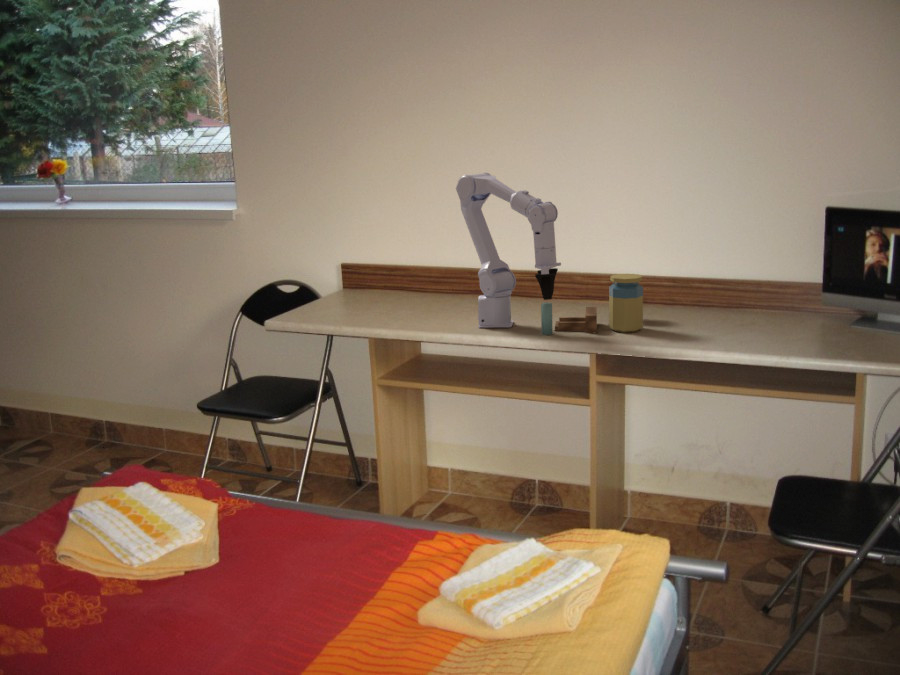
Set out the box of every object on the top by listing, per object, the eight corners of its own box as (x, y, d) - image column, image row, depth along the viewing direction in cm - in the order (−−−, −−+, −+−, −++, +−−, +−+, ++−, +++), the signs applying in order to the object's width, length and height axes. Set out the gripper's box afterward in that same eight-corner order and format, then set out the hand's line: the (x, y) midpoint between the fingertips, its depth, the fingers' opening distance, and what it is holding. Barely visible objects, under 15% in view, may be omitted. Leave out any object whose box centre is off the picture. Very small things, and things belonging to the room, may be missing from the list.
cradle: (554, 332, 258) (554, 316, 257) (556, 323, 269) (556, 307, 268) (596, 332, 256) (596, 315, 255) (596, 323, 268) (596, 306, 266)
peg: (541, 335, 256) (540, 304, 254) (541, 332, 259) (541, 302, 257) (552, 335, 256) (551, 304, 254) (552, 332, 258) (552, 302, 256)
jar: (641, 333, 253) (641, 279, 250) (607, 333, 256) (607, 279, 252) (643, 326, 262) (644, 273, 258) (610, 325, 264) (611, 273, 261)
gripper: (558, 249, 245) (562, 300, 247) (560, 244, 259) (564, 292, 261) (531, 251, 246) (535, 302, 249) (535, 245, 260) (538, 294, 263)
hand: (548, 297), depth 255 cm, fingers open, 7 cm apart
